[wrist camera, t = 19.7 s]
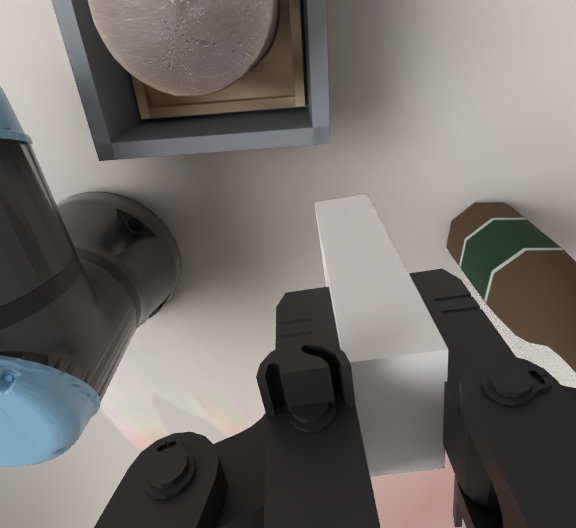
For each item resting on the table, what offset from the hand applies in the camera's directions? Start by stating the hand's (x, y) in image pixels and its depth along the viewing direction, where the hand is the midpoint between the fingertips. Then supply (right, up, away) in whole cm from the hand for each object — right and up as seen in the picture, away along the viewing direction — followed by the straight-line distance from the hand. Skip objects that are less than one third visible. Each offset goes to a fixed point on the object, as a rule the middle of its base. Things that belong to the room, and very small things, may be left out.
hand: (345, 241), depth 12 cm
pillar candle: (-7, +20, +21) cm, 30 cm away
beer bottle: (+19, +3, +33) cm, 38 cm away
